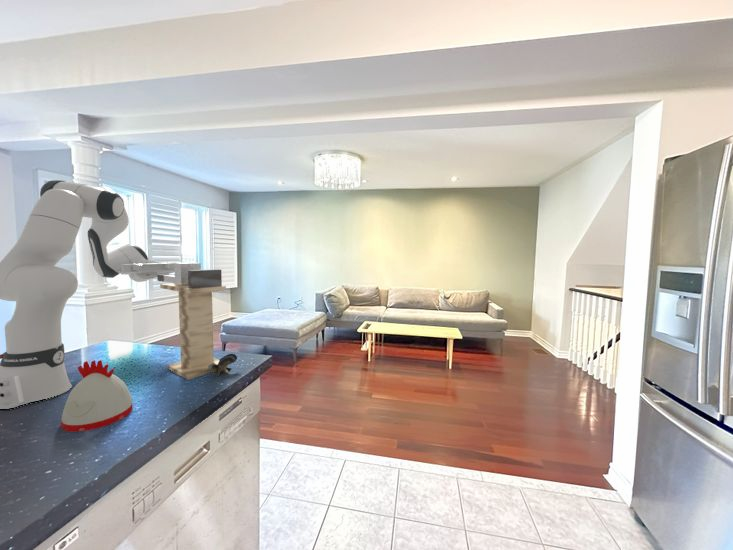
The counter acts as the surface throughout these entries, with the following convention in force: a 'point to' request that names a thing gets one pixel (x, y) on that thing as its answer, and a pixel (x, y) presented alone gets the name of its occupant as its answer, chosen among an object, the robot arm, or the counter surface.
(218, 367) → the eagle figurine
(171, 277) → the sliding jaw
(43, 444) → the counter surface
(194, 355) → the shelf
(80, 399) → the kitchen timer
